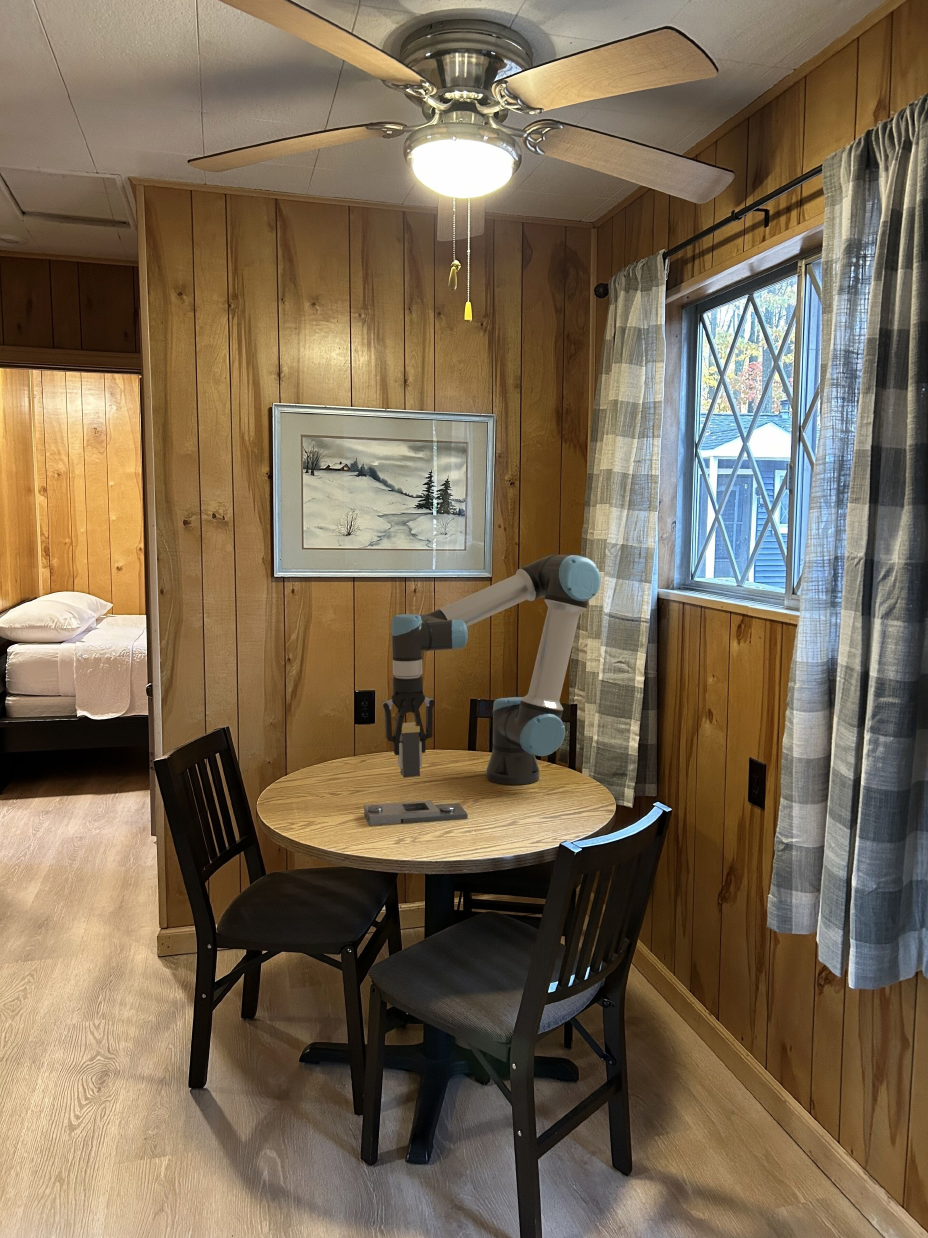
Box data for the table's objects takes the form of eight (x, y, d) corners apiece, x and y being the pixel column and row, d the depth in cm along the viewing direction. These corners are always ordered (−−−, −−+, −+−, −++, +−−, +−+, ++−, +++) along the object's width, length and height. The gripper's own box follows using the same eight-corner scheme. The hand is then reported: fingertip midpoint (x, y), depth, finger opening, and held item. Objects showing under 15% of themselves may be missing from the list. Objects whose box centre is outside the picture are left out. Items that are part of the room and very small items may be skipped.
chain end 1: (431, 809, 229) (431, 798, 228) (439, 820, 220) (439, 808, 220) (364, 814, 224) (364, 802, 224) (369, 826, 216) (369, 814, 215)
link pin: (417, 771, 235) (416, 722, 233) (420, 776, 231) (419, 726, 229) (399, 773, 234) (398, 723, 232) (403, 778, 229) (401, 727, 228)
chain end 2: (458, 807, 230) (458, 800, 230) (467, 818, 222) (467, 811, 222) (396, 812, 226) (396, 805, 226) (403, 823, 218) (403, 816, 218)
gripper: (437, 671, 235) (439, 759, 238) (371, 675, 231) (374, 765, 233) (444, 676, 228) (446, 767, 230) (376, 680, 224) (378, 773, 226)
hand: (410, 766), depth 232 cm, fingers closed on link pin, 4 cm apart
